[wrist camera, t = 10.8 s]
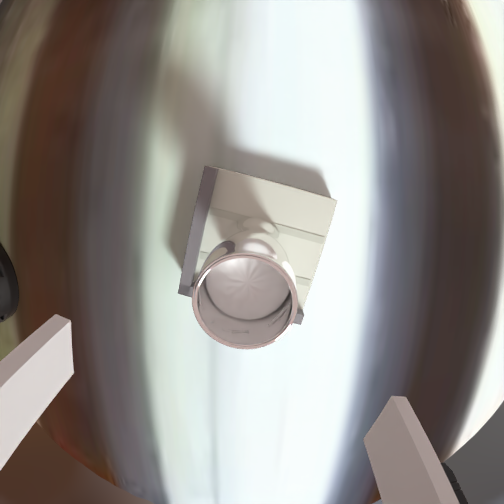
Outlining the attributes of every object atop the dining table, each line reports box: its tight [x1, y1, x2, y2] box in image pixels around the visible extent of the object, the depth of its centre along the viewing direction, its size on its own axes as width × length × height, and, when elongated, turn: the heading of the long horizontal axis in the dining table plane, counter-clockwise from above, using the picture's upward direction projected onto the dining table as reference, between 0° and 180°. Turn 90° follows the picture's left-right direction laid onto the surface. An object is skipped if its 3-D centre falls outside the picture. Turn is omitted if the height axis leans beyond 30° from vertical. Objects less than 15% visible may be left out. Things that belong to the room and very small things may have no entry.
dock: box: [178, 166, 337, 325], centre depth 34 cm, size 14×14×4 cm
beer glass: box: [192, 218, 298, 349], centre depth 26 cm, size 7×7×15 cm
